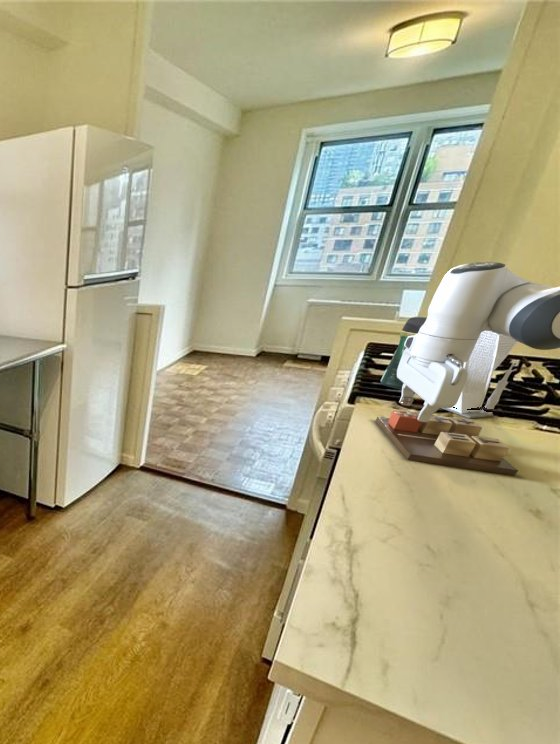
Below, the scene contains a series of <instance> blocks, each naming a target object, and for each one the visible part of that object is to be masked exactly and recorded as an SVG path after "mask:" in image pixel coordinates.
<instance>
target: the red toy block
mask: <svg viewBox="0 0 560 744" xmlns="http://www.w3.org/2000/svg"><path fill="white" fill-rule="evenodd" d="M416 415H417V413H416V412H411V411H403V410H397V409H393V410H392V412H391V414H390V416H389V417H388V418H389V421H388V423H389V424H390V425H391V426H392V428H393V429H396V430H404V431H411V432H417V431H418V428H419V426H420V424H421V422H420V421H418V420H417V419H416Z"/></svg>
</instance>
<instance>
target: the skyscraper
mask: <svg viewBox="0 0 560 744" xmlns="http://www.w3.org/2000/svg"><path fill="white" fill-rule="evenodd" d="M517 343H518V341H516V340H514V339H511V338H508V337H505V336H501V335H498V334H496V333H494V332H491V331H483V332H482V333H481V334H480V336H479V339H478V341H477V343H476V345H475V347H474V349H473V351H472V353H471V355H470V357H469V359H468V361H467V362H464V364H463V368H464V369H465V370H466V371H467V378H466V382H465V385H464V387H463V390H462V392H461V395H460V397H459V400H458V402H457V403H456V405H454V406H453V407H455V408H453V407H452V408H443V407H440V408H439V409H442V410H445V411H448V412H451V413H454V414H456V415H458V416H459V415H460V416H462V417H466V418H467V419H475V418H484V417H486V418H487V417H493V416H494V413H493V412H486V411H484V410H483V409H480V410H467V409H471V408H477V407H479V408H480V407H481V408H482V406H483V404H484V401H485V398H486V395H487V392H488V389H489V386H490V383H491V380H492V377H493V373H494V372H495V371H496V369H498V367H499V366H500V365H501V364H502V362H504V360H505V359H506V358H507V357H508V356H509V354H510V353H511V352H512V350H513V349H514V348H515V346H516V344H517ZM514 366H515V362H511V365H510V367H509V368H508V369H506V371H505V373H504V376H503V377H502V379H500V380H498V381H497V384H496V387H495V389H494V390H493V391H492V393H491V395H490V396H489V397H488V398H487V401H486V403H485V405H484V407H485V408H487V409H493V410H494V409H495V406H496V405H497V404H498V403H499V401H500V397H501V395H502V393H503V391H504V389H506V387H507V385H508V384H509V382H508V379H509V377H510V375H511V374H512V373H513V370H512V369H513V367H514ZM456 408H457V409H456Z"/></svg>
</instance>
